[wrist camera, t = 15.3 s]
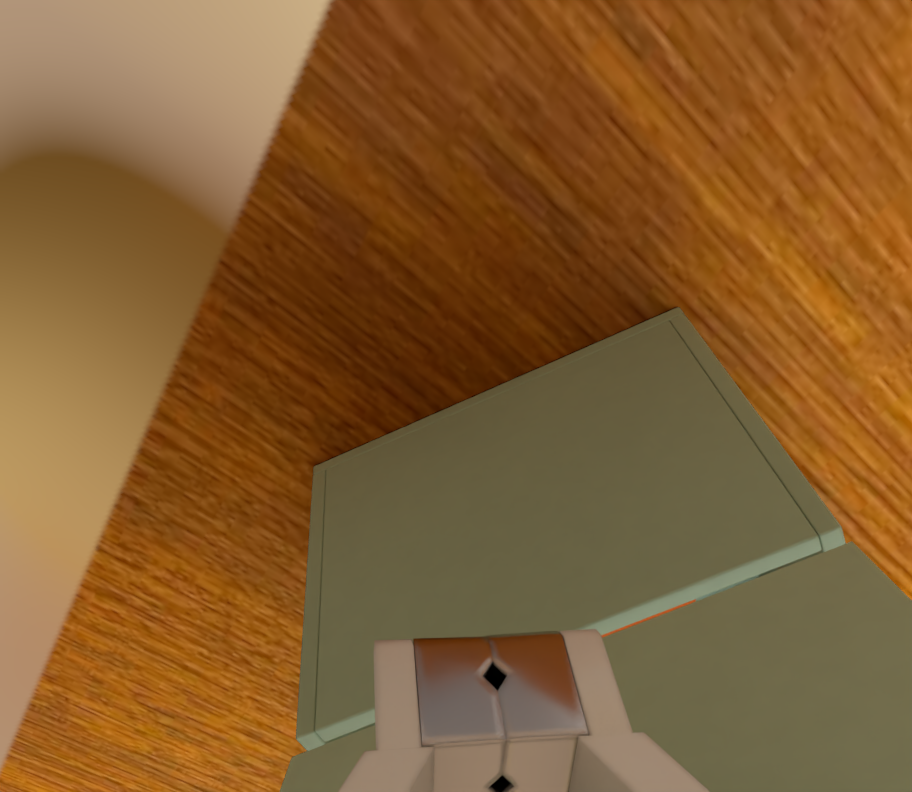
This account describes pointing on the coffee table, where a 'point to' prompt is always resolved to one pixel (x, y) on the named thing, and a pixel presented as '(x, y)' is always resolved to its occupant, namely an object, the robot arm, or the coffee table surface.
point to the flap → (754, 685)
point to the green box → (547, 512)
